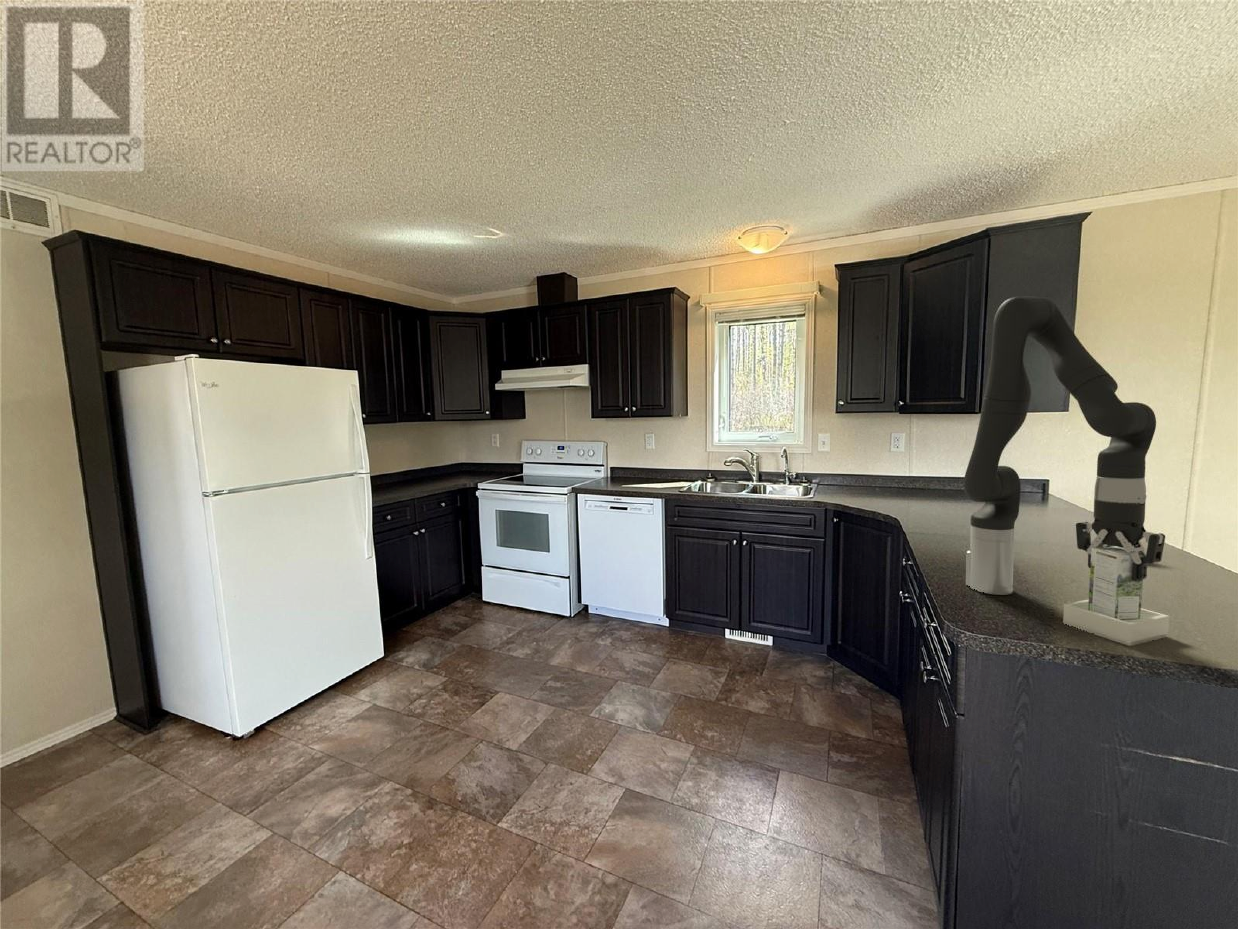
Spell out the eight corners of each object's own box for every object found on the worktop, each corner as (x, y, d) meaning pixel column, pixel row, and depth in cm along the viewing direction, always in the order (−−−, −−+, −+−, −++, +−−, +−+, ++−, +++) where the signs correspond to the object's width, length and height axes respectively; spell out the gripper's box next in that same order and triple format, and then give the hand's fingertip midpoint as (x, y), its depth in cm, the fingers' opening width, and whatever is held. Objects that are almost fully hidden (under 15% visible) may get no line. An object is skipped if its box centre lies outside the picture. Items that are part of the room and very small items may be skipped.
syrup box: (1112, 609, 107) (1115, 545, 106) (1142, 620, 101) (1145, 552, 100) (1087, 611, 107) (1089, 546, 106) (1115, 621, 101) (1118, 553, 100)
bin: (1063, 623, 108) (1063, 604, 108) (1099, 616, 111) (1100, 597, 111) (1129, 646, 97) (1131, 624, 97) (1167, 637, 100) (1169, 615, 100)
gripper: (1066, 495, 108) (1064, 568, 109) (1152, 505, 94) (1148, 589, 95) (1090, 492, 110) (1087, 564, 111) (1178, 501, 96) (1173, 583, 97)
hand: (1115, 575), depth 103 cm, fingers closed on syrup box, 6 cm apart
